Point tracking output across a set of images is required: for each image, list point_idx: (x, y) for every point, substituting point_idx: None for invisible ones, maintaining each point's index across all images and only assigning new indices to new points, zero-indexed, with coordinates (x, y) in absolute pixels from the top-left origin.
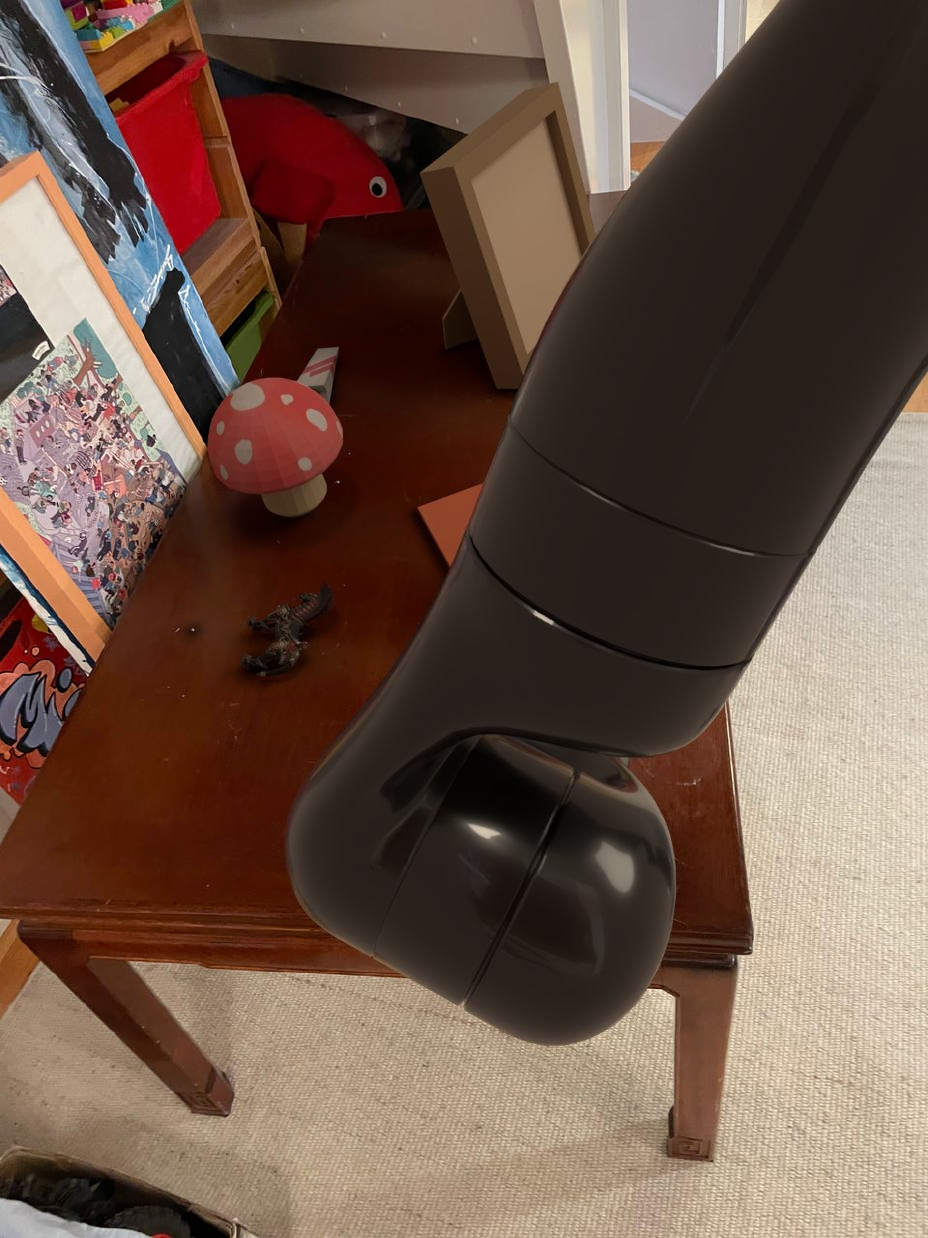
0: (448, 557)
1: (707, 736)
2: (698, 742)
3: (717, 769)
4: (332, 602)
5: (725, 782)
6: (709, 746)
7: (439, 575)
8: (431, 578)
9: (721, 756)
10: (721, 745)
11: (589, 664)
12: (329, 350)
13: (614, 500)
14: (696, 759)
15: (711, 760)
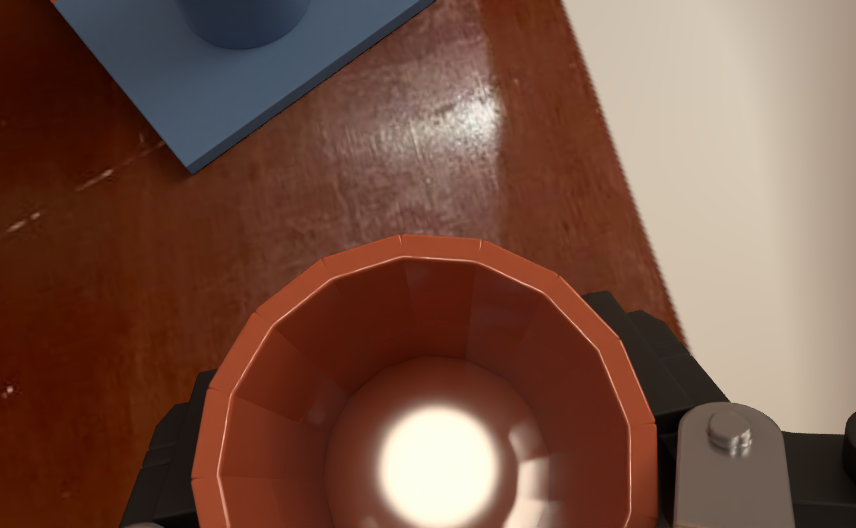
0: None
1: (625, 249)
2: (612, 266)
3: (662, 315)
4: None
5: (683, 340)
6: (634, 270)
7: (24, 9)
8: (9, 18)
9: (661, 286)
10: (655, 262)
11: None
12: None
13: None
14: (619, 303)
15: (646, 299)
